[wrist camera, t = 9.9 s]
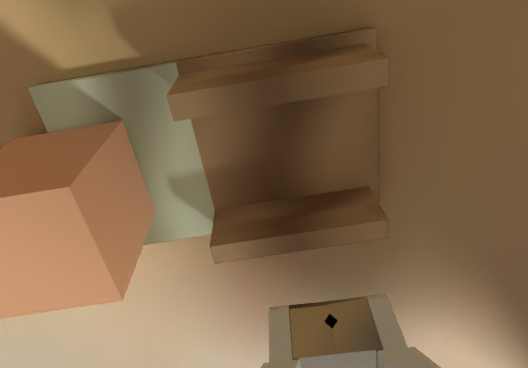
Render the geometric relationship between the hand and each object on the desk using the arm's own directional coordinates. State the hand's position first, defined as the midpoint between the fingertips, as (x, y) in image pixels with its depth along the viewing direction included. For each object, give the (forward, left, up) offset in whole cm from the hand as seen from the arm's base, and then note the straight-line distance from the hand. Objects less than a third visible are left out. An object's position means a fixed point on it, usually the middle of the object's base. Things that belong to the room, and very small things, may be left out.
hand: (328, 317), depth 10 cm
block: (+10, -1, -10) cm, 14 cm away
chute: (+3, -1, -10) cm, 11 cm away
